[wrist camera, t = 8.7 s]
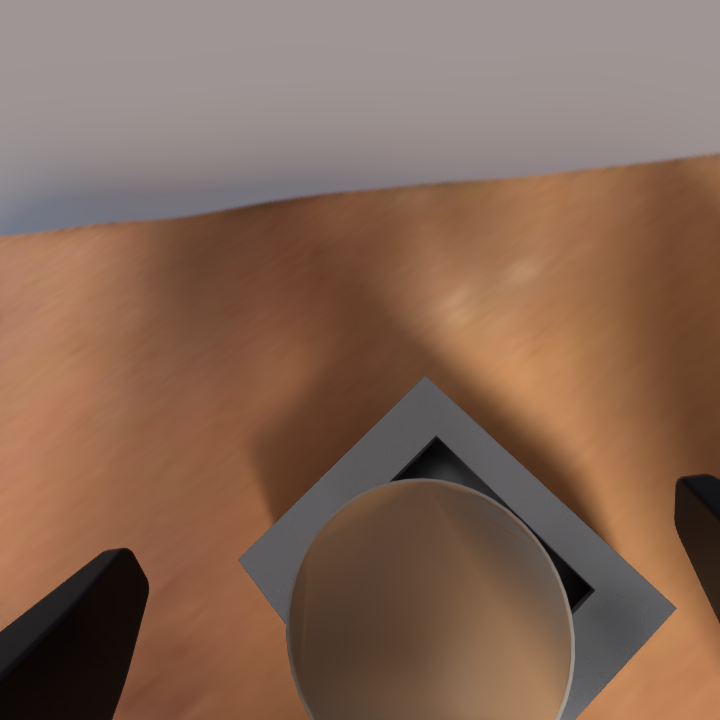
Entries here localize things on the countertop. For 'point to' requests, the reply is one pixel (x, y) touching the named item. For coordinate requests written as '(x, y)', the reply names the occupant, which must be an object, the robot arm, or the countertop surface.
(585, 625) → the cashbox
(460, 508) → the tan lidded canister
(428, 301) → the countertop surface
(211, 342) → the countertop surface
